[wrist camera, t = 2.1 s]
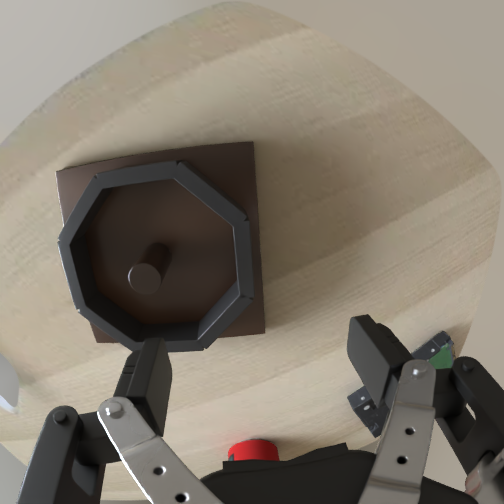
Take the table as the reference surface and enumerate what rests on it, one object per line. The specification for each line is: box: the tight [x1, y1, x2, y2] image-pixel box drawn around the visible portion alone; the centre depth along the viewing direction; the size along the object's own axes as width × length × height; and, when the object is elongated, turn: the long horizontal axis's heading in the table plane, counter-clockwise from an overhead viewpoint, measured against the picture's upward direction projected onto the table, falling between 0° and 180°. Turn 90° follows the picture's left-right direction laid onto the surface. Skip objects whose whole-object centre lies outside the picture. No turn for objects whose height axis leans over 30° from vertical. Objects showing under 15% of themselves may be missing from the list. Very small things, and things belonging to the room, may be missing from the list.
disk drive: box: [347, 331, 456, 438], centre depth 32 cm, size 10×3×15 cm
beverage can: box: [228, 439, 280, 461], centre depth 29 cm, size 7×7×12 cm
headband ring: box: [58, 160, 255, 352], centre depth 23 cm, size 15×15×3 cm
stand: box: [56, 141, 265, 343], centre depth 22 cm, size 17×17×6 cm
